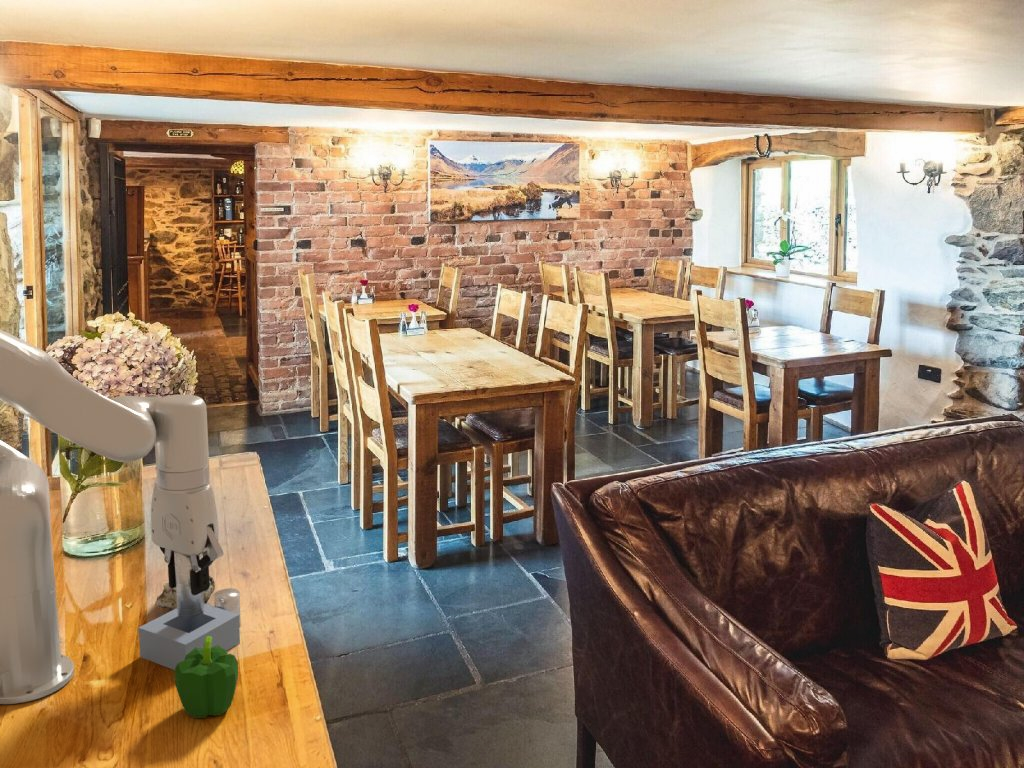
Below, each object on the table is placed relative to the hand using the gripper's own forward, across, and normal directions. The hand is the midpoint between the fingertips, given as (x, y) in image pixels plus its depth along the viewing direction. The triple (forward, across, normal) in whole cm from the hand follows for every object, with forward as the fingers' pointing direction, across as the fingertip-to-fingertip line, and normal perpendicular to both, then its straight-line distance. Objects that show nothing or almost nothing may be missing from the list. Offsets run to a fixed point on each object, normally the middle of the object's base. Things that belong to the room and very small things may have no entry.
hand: (189, 587), depth 137 cm
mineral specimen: (+11, -13, +11) cm, 20 cm away
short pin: (+11, -1, +8) cm, 14 cm away
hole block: (+11, 0, 0) cm, 11 cm away
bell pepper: (+11, +14, -10) cm, 21 cm away
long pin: (+4, 0, 0) cm, 4 cm away
